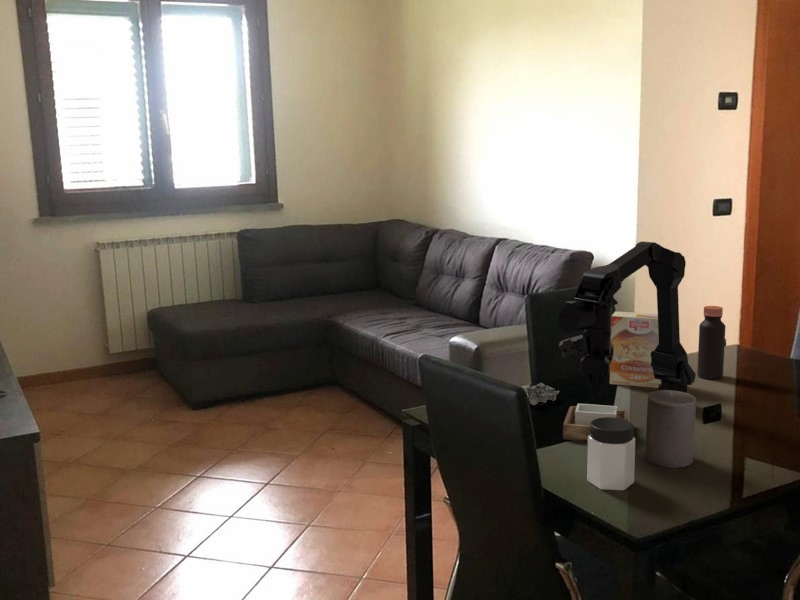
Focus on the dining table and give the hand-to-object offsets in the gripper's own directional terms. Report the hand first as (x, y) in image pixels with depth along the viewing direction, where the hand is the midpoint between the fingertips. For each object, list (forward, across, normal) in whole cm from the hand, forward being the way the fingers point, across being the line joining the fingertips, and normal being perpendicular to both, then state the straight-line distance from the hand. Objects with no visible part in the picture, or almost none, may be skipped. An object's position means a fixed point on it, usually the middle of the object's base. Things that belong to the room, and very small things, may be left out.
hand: (596, 392), depth 182 cm
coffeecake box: (+10, -42, +8) cm, 44 cm away
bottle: (+9, -53, +27) cm, 60 cm away
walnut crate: (+10, 0, 0) cm, 10 cm away
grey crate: (+9, 0, 0) cm, 9 cm away
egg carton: (+10, -20, -17) cm, 28 cm away
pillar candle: (+10, +13, +16) cm, 23 cm away
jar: (+10, +28, +5) cm, 30 cm away
